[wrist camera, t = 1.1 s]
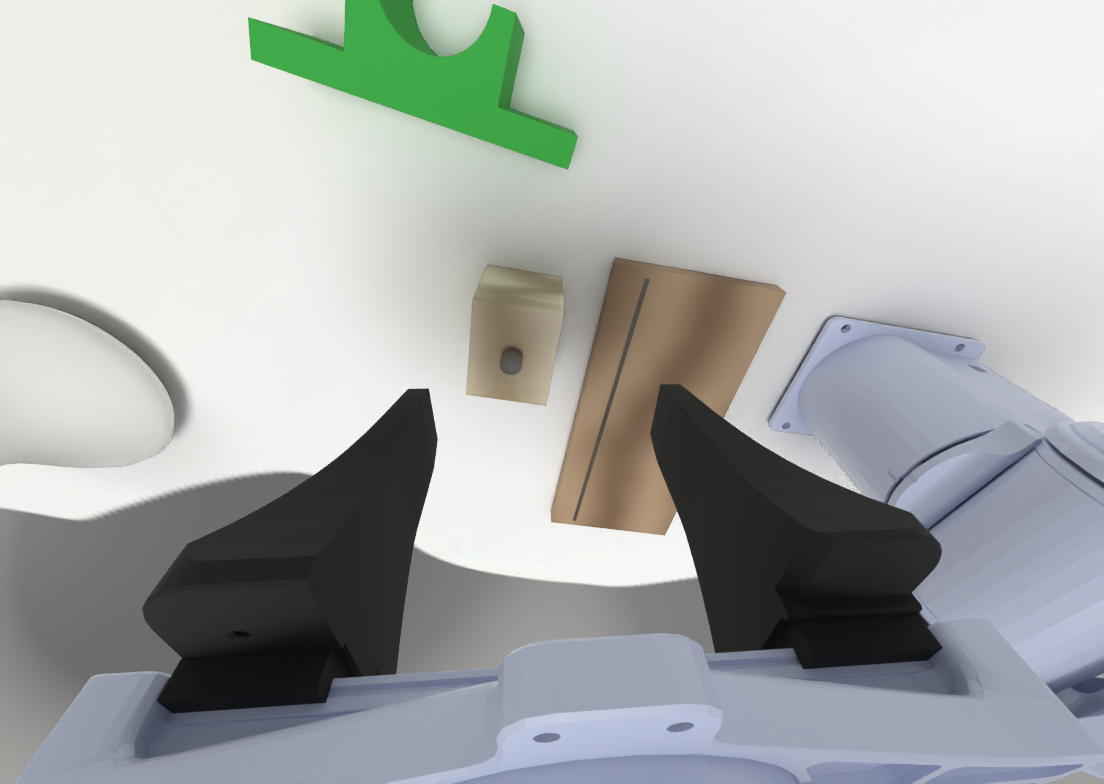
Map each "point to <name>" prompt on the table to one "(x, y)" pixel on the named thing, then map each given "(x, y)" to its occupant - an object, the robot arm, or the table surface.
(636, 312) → the board
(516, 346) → the beige boxy piece
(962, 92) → the table surface
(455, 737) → the robot arm
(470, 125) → the pipe clamp
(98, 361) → the flower in vase
